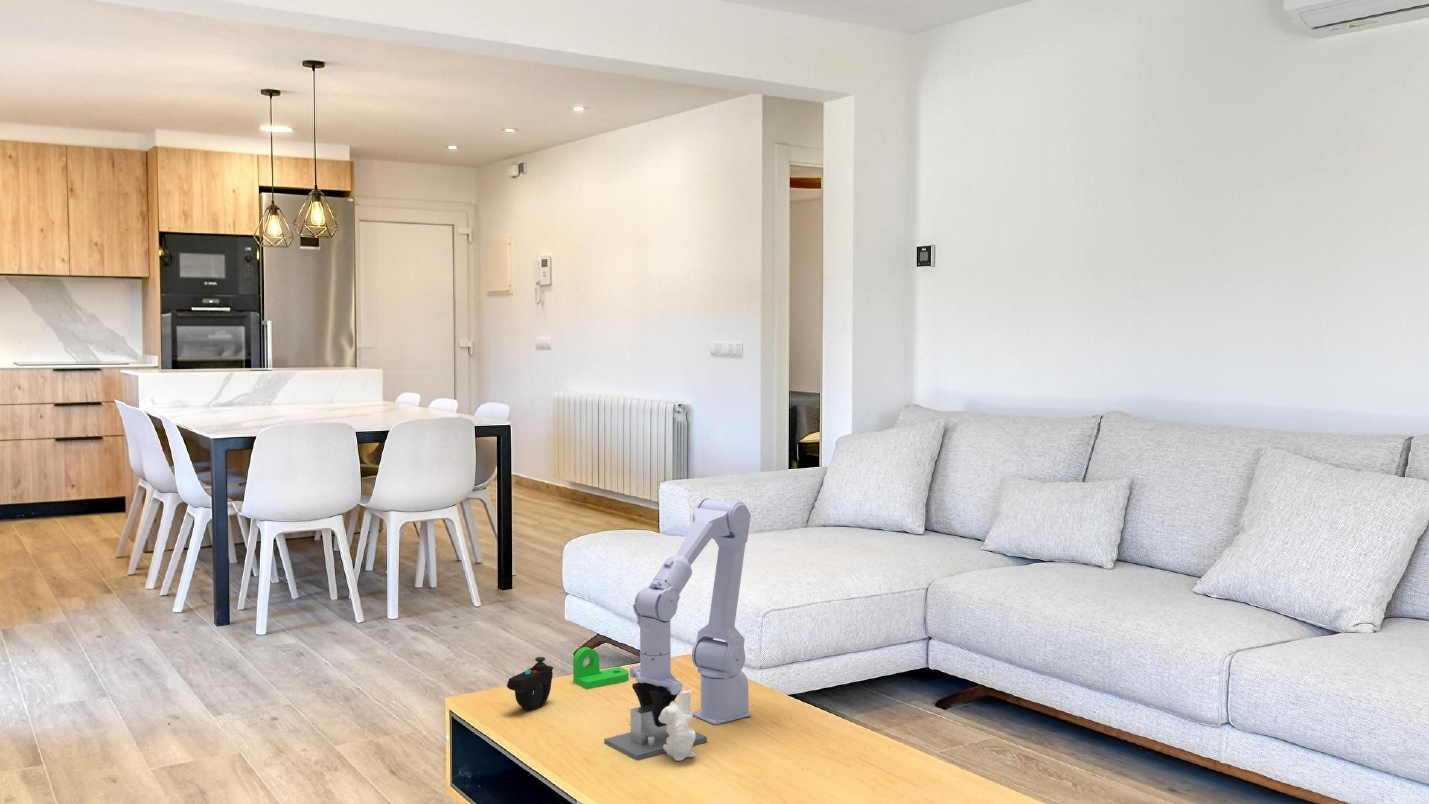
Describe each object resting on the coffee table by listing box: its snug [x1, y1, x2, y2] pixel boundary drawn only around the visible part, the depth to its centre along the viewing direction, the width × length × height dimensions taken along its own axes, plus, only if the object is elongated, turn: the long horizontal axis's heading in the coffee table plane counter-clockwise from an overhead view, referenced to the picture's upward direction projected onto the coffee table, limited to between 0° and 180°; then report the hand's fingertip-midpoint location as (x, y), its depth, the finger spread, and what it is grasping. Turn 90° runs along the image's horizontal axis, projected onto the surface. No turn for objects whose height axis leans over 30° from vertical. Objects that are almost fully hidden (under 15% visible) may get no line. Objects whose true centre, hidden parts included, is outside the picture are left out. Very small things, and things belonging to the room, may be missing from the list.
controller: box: [506, 656, 554, 711], centre depth 240 cm, size 4×12×10 cm, turn 153°
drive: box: [629, 704, 669, 746], centre depth 220 cm, size 9×4×6 cm, turn 128°
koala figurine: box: [658, 688, 696, 762], centre depth 213 cm, size 8×7×12 cm
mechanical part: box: [572, 646, 630, 690], centre depth 259 cm, size 12×6×8 cm, turn 126°
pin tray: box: [603, 731, 708, 761], centre depth 220 cm, size 16×11×3 cm
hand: (655, 722), depth 220 cm, fingers closed on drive, 3 cm apart
